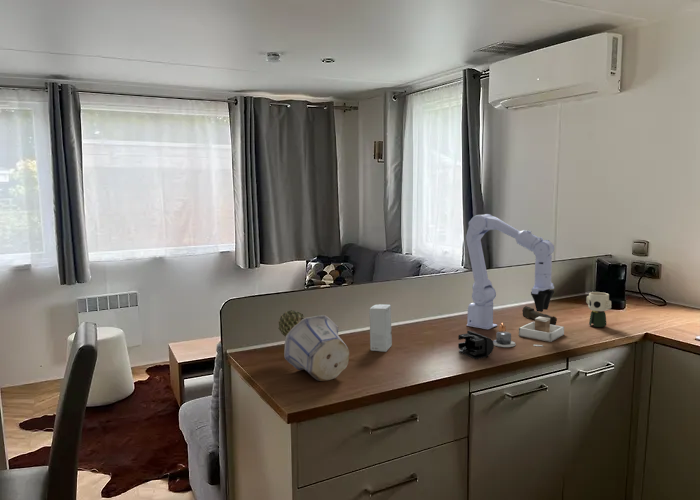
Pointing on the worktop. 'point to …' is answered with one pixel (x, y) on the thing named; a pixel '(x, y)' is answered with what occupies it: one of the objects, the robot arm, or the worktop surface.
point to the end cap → (475, 345)
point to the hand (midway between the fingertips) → (542, 310)
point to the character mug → (598, 308)
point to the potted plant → (313, 345)
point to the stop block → (542, 324)
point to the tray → (532, 333)
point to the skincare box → (380, 327)
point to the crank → (503, 335)
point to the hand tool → (537, 315)
